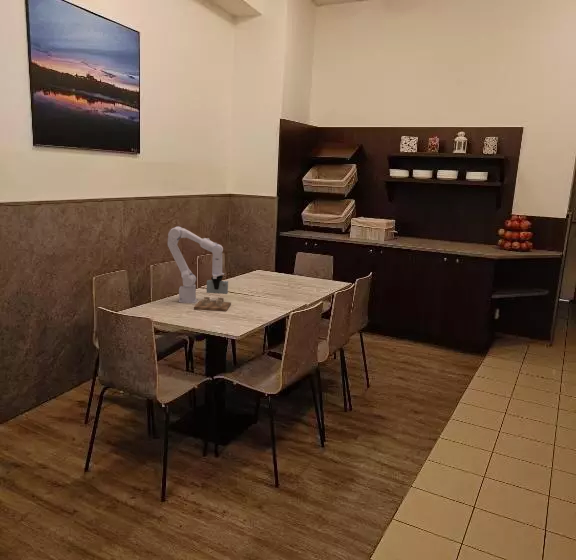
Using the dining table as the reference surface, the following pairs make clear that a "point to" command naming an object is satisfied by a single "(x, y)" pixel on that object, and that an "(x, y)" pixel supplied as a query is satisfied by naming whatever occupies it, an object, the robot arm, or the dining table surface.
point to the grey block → (222, 287)
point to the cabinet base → (212, 305)
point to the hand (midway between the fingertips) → (217, 288)
